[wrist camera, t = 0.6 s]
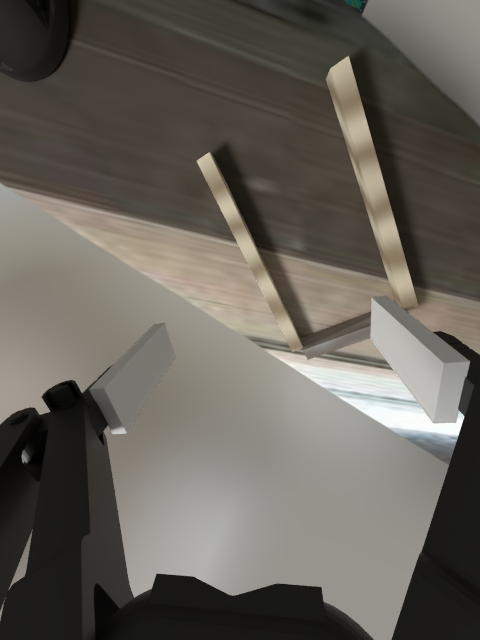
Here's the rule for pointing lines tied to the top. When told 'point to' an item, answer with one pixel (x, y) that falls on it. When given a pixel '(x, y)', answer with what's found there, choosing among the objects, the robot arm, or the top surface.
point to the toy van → (358, 5)
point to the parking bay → (378, 212)
